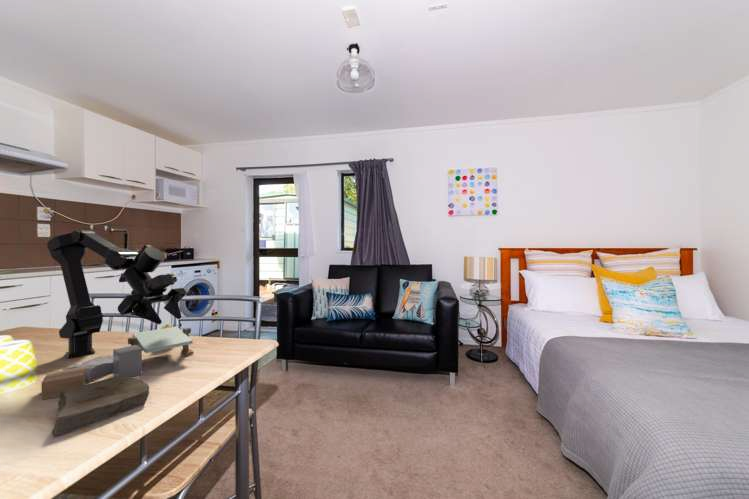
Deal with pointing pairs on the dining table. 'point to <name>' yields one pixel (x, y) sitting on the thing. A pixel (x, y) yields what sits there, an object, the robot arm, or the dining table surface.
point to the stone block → (96, 367)
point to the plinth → (62, 381)
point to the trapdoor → (161, 339)
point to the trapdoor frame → (185, 350)
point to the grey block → (127, 361)
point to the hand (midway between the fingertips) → (170, 320)
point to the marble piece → (98, 402)
